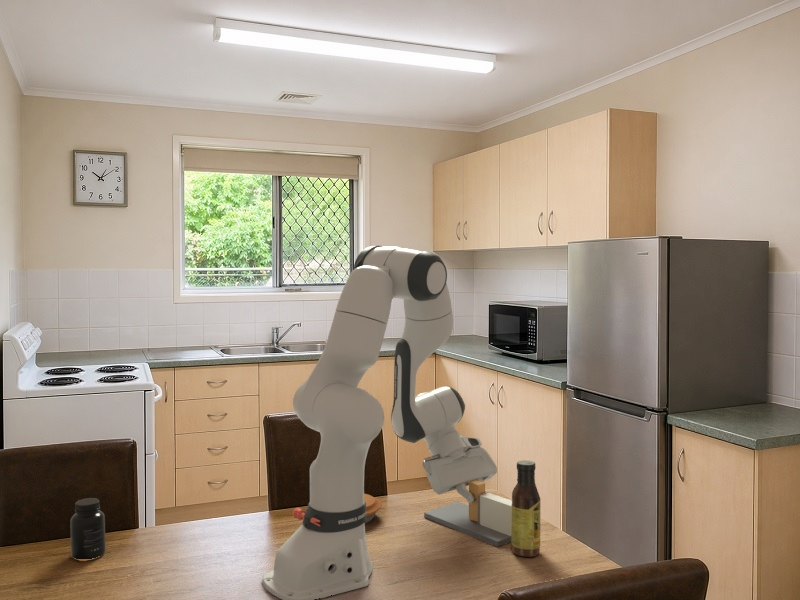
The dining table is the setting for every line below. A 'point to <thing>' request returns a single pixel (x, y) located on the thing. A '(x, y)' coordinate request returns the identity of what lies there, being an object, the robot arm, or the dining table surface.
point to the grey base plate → (490, 518)
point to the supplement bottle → (87, 530)
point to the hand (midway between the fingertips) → (478, 499)
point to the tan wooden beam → (477, 489)
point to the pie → (371, 506)
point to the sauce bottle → (525, 512)
